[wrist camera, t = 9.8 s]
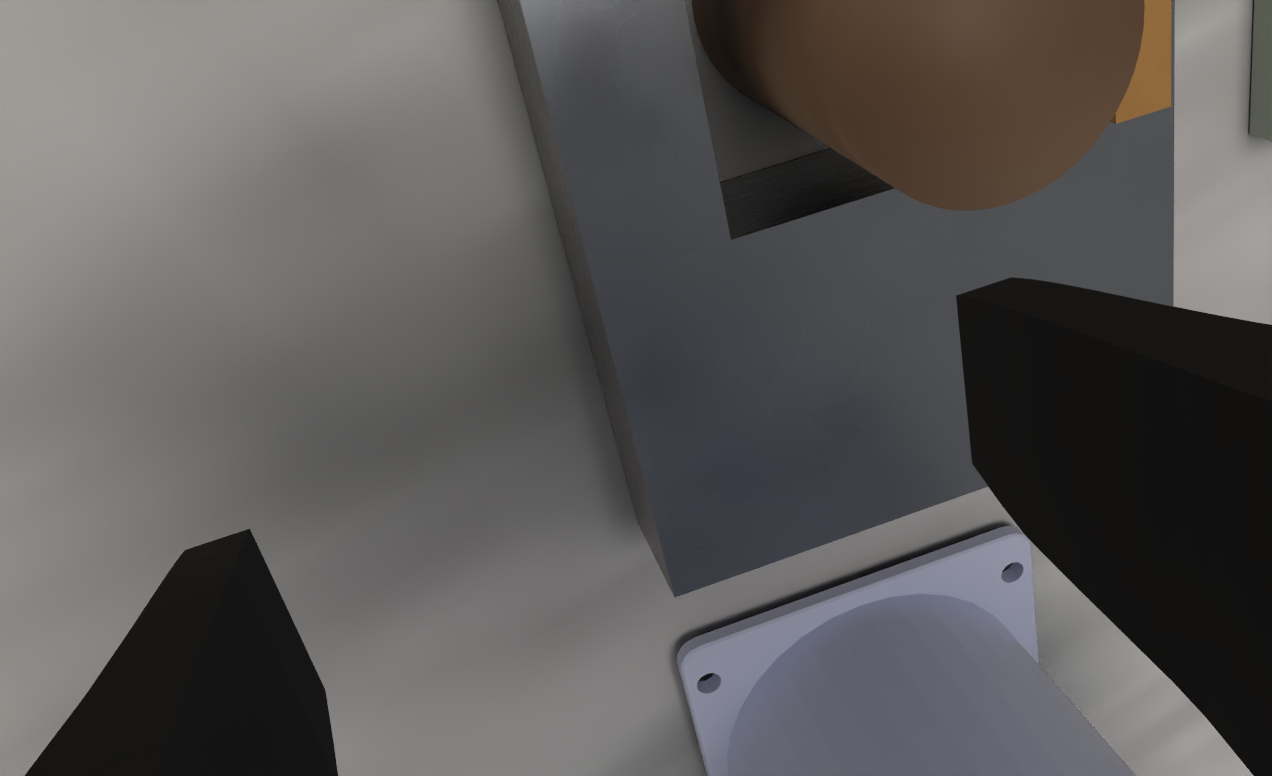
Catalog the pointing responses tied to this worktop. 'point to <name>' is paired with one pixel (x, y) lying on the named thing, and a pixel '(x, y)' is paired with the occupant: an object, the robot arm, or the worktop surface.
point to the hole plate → (796, 288)
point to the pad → (1262, 71)
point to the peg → (936, 83)
